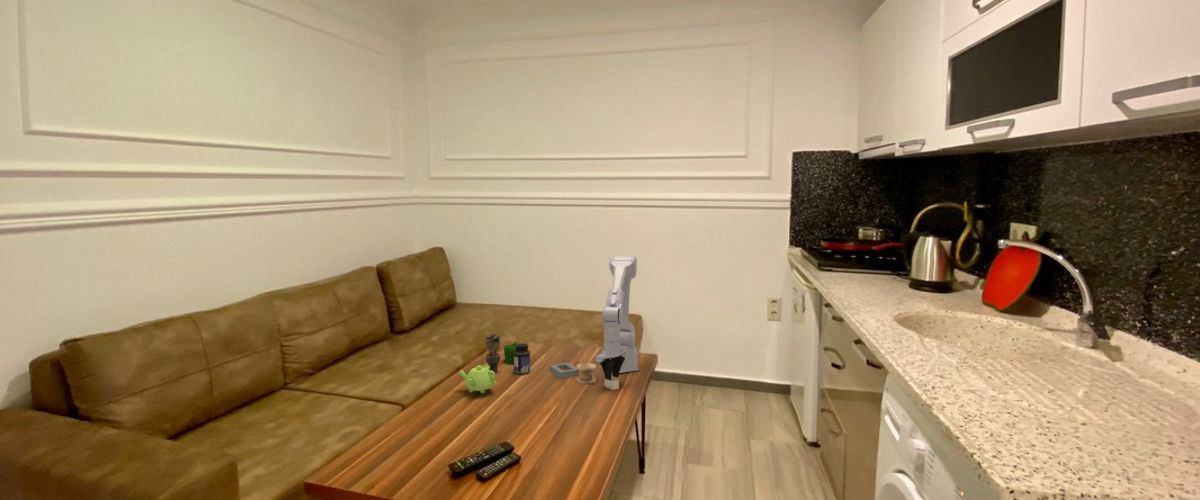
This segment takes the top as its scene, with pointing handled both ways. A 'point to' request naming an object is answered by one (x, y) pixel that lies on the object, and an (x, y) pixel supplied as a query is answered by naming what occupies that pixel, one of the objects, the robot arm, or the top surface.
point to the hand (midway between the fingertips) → (611, 378)
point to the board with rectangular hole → (567, 373)
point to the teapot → (479, 379)
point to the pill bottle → (522, 359)
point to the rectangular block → (612, 383)
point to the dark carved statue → (492, 351)
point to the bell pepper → (510, 352)
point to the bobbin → (586, 373)
